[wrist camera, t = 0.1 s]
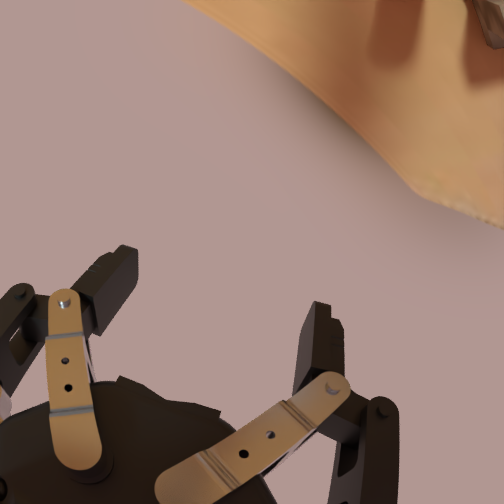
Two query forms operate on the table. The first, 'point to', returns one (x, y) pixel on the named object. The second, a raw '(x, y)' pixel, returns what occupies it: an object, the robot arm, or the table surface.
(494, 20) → the ridge
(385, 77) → the table surface
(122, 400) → the robot arm
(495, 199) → the table surface
